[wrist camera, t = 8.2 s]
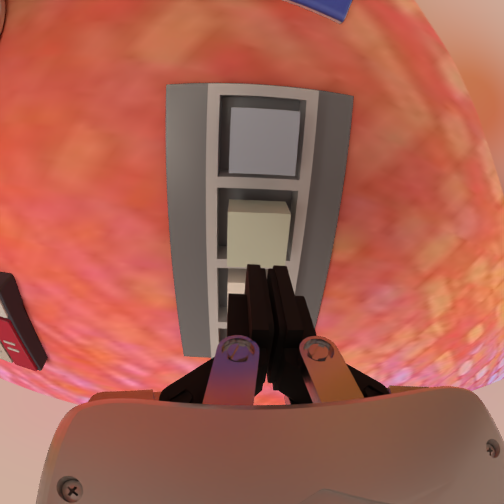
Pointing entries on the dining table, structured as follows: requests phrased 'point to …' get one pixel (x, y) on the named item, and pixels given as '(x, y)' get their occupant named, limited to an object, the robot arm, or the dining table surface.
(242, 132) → the key
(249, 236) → the key
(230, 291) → the key
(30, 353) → the calculator
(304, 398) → the robot arm
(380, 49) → the dining table surface
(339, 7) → the hard drive
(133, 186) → the dining table surface
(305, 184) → the keypad
